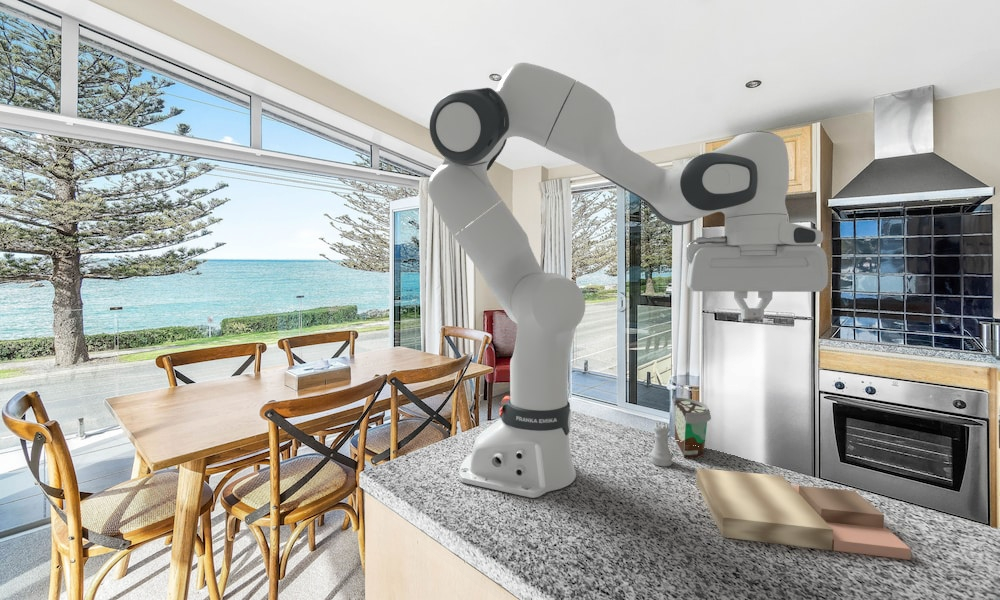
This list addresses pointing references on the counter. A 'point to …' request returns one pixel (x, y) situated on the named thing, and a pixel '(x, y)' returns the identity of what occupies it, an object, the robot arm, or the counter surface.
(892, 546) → the salmon pink pad
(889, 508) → the counter surface
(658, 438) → the rook chess piece
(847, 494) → the walnut tile
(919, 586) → the counter surface
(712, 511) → the oak board
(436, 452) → the counter surface
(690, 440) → the food container
